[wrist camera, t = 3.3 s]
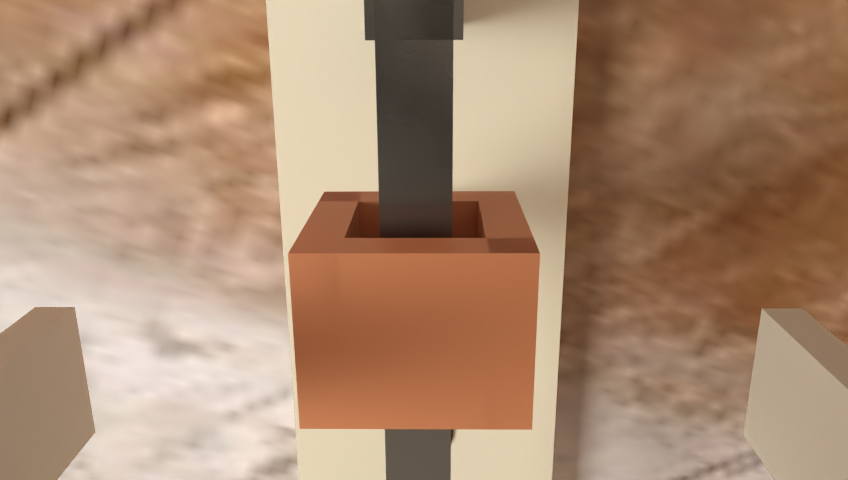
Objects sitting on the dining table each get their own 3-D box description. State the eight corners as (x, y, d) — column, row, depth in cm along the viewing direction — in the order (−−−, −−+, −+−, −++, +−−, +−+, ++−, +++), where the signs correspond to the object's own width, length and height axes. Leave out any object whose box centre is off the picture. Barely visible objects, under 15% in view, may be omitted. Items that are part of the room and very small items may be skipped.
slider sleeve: (347, 152, 24) (288, 253, 15) (498, 152, 24) (539, 253, 14) (351, 265, 26) (299, 428, 16) (495, 265, 26) (532, 429, 16)
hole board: (267, -136, 24) (255, -146, 22) (577, -139, 24) (588, -149, 22) (311, 549, 32) (305, 578, 30) (541, 550, 32) (546, 580, 30)
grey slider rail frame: (389, -41, 23) (362, -66, 14) (453, -41, 23) (464, -67, 14) (401, 569, 30) (387, 799, 22) (449, 569, 30) (455, 799, 22)
